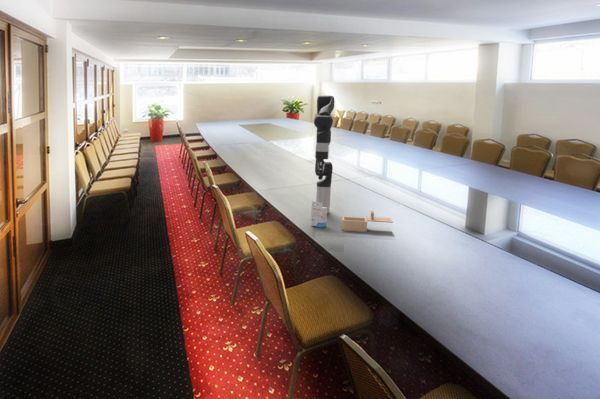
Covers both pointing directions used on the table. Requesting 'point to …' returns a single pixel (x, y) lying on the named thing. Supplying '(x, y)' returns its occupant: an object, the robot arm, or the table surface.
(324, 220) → the ink box
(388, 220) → the lid
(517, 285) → the table surface
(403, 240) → the table surface
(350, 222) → the open wooden box
